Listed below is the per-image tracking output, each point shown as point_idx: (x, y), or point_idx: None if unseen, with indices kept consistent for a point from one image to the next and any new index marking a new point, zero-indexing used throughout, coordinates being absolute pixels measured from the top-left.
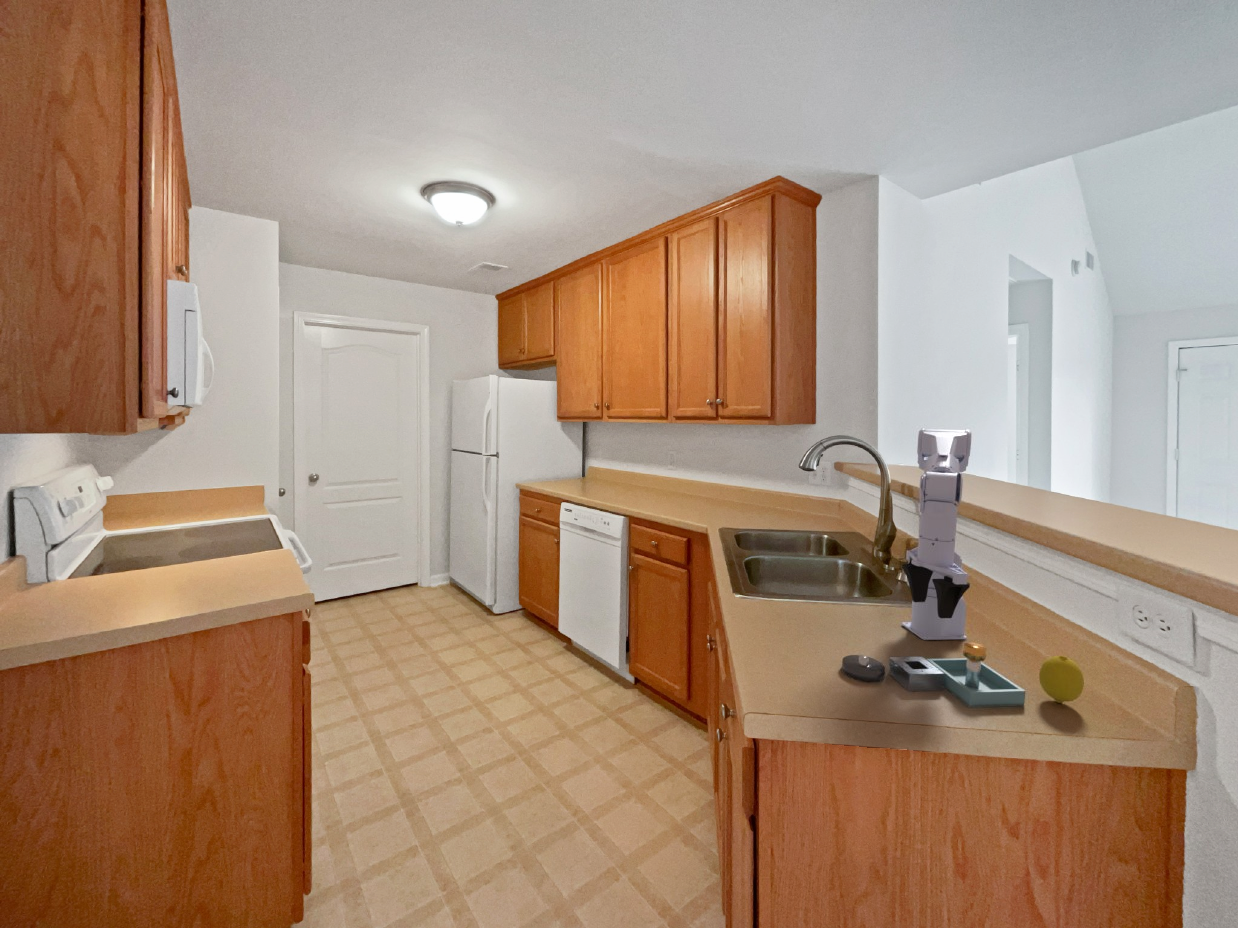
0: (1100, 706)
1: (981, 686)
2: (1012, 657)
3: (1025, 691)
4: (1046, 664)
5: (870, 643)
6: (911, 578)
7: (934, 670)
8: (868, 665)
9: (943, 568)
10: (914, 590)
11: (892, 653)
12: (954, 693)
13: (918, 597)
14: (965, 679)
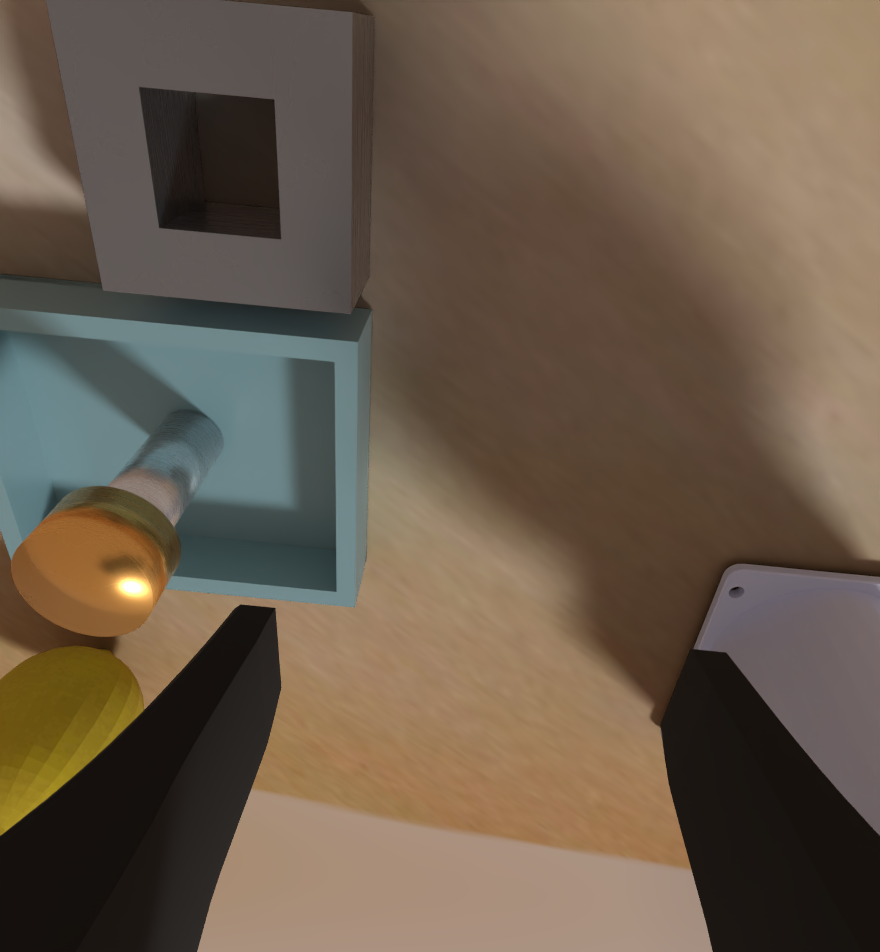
0: None
1: None
2: (467, 760)
3: None
4: (22, 757)
5: (840, 205)
6: (848, 933)
7: (138, 251)
8: None
9: None
10: (744, 767)
11: (646, 268)
12: (98, 286)
13: (694, 721)
14: (194, 427)
